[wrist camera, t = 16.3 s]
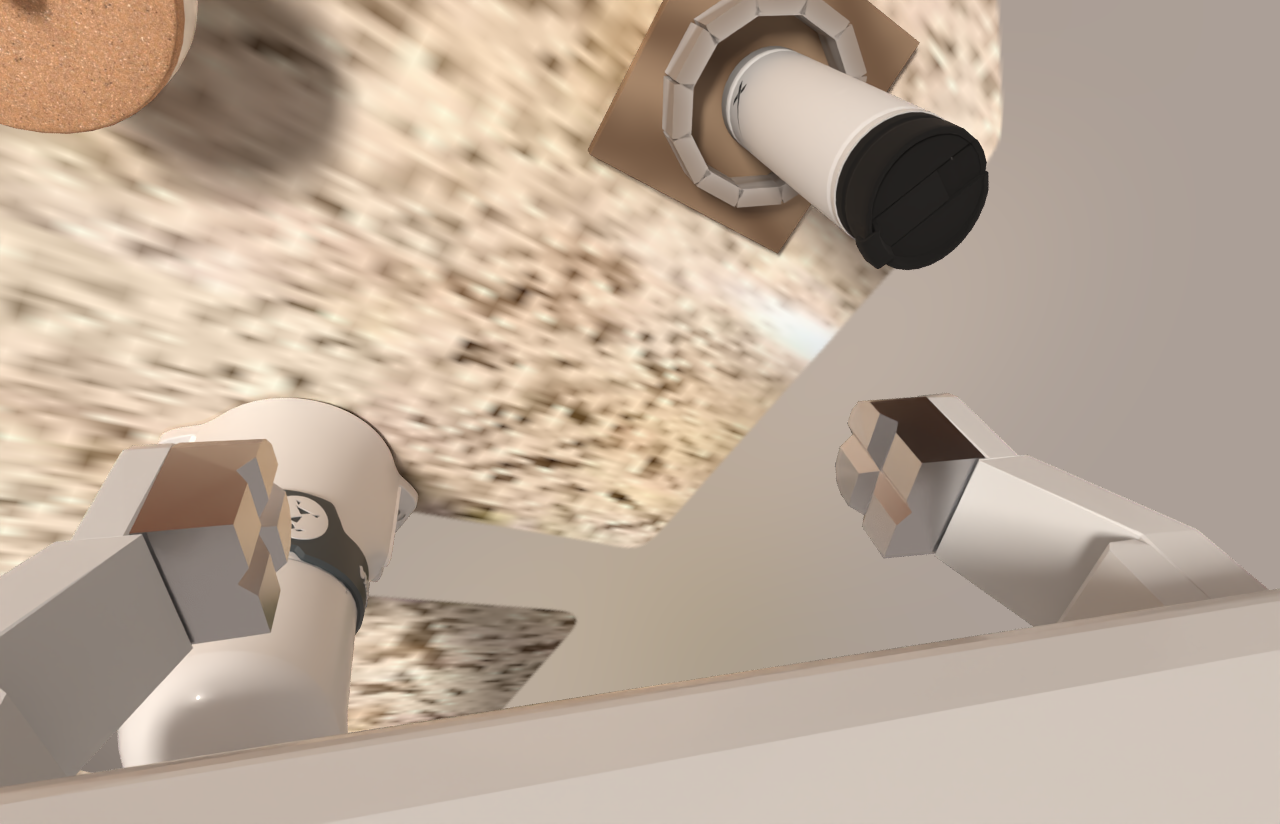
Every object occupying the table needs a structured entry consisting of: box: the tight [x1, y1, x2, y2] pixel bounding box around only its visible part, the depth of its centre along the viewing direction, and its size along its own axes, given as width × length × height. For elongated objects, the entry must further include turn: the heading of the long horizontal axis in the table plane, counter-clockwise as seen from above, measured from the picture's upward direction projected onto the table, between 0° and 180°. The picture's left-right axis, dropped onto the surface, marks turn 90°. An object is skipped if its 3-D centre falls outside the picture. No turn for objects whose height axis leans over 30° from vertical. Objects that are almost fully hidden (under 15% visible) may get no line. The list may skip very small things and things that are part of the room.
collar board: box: [588, 0, 919, 253], centre depth 45 cm, size 16×16×4 cm
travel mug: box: [721, 46, 988, 270], centre depth 38 cm, size 6×7×20 cm
